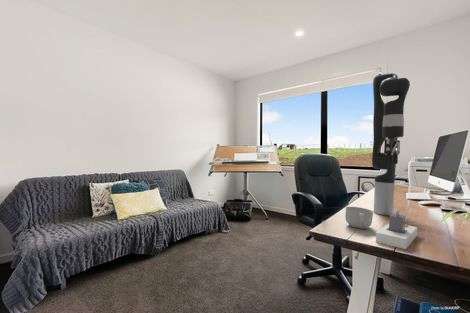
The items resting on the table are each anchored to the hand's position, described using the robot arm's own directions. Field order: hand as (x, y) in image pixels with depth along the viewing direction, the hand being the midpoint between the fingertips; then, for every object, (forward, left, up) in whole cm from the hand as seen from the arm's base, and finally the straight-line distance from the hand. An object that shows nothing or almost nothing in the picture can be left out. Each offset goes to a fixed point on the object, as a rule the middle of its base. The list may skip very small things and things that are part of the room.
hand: (391, 164), depth 101 cm
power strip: (+11, +5, -28) cm, 31 cm away
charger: (+12, +5, -28) cm, 31 cm away
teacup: (+8, -10, -28) cm, 31 cm away
